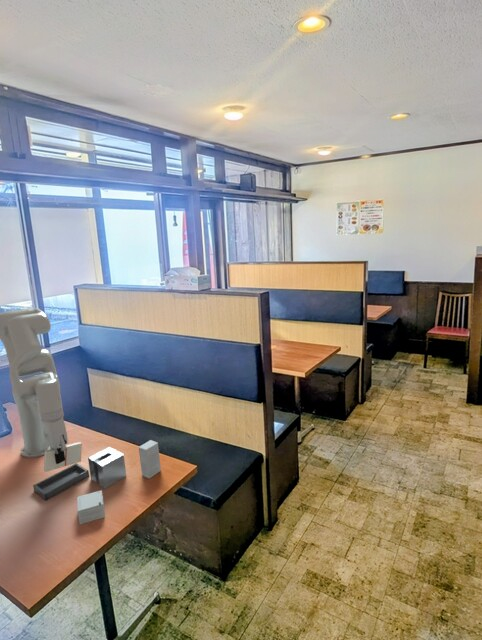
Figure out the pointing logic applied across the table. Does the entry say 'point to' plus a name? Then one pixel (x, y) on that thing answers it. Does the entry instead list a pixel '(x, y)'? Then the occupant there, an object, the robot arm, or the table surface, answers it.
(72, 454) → the ticket
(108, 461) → the ticket dispenser
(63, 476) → the stub tray
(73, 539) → the table surface
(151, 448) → the skincare box
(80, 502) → the small box
